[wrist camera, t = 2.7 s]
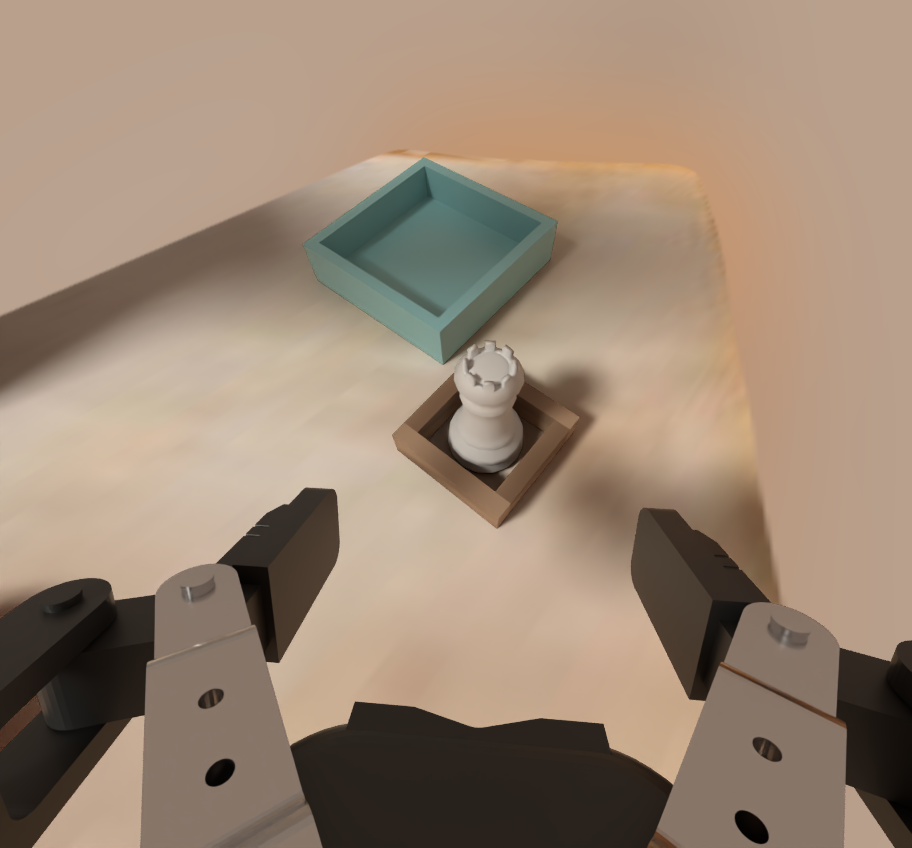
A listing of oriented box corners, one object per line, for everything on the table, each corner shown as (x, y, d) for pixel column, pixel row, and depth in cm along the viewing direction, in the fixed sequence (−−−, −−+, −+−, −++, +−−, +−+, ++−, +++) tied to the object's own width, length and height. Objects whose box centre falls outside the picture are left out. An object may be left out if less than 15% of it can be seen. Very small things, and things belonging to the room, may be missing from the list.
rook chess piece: (439, 466, 26) (426, 394, 19) (459, 403, 28) (454, 316, 21) (514, 484, 25) (530, 416, 18) (528, 418, 27) (548, 333, 20)
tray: (317, 280, 33) (302, 244, 30) (427, 196, 38) (423, 157, 35) (442, 364, 29) (439, 332, 26) (550, 259, 33) (557, 221, 30)
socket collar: (397, 449, 26) (391, 434, 24) (475, 369, 29) (476, 350, 27) (496, 528, 24) (498, 518, 22) (572, 433, 26) (579, 417, 25)
